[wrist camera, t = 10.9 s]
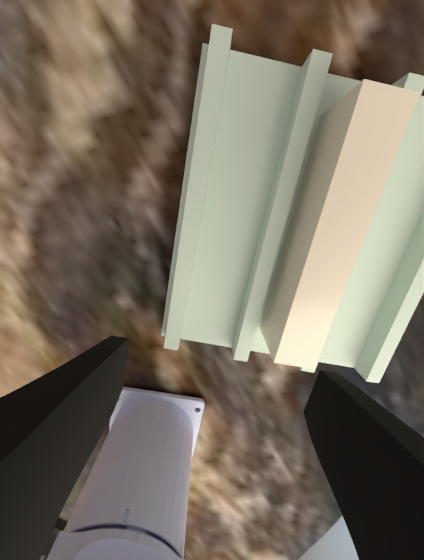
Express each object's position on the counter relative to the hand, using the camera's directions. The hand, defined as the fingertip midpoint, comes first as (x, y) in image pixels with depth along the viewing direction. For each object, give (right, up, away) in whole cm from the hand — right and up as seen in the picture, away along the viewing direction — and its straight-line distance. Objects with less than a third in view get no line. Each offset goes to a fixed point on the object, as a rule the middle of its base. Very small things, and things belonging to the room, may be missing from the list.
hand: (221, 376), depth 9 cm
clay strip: (+6, +6, +7) cm, 11 cm away
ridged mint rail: (+6, +7, +8) cm, 12 cm away
